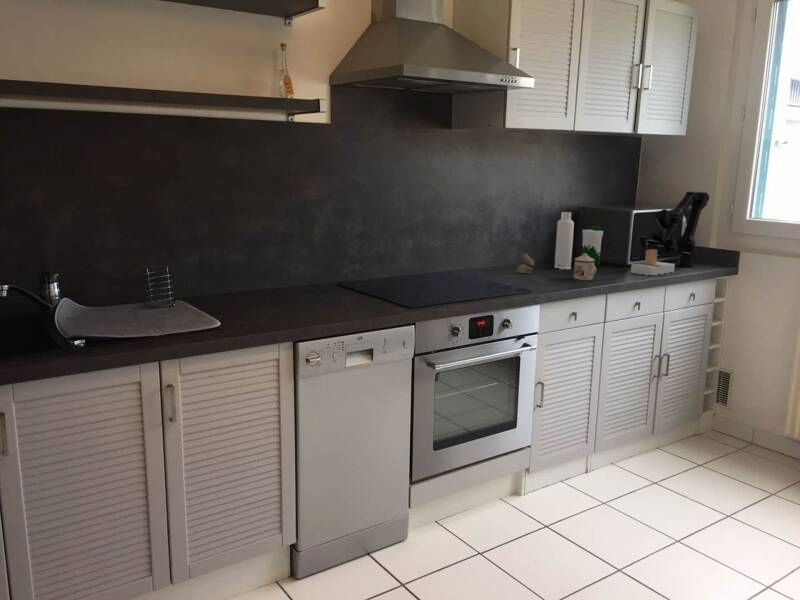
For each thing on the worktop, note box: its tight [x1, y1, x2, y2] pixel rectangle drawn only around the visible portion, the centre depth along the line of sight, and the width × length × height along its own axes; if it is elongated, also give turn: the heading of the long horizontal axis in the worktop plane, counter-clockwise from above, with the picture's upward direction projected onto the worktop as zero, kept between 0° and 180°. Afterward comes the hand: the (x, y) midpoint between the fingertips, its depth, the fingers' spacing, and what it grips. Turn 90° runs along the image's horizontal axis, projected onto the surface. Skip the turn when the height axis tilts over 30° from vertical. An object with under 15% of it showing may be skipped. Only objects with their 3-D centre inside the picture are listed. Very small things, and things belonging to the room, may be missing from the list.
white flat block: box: [630, 260, 676, 276], centre depth 320 cm, size 20×11×4 cm, turn 127°
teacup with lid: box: [573, 253, 597, 281], centre depth 298 cm, size 12×9×12 cm
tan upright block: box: [644, 248, 658, 264], centre depth 320 cm, size 6×2×11 cm, turn 127°
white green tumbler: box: [581, 225, 604, 266], centre depth 339 cm, size 9×9×20 cm
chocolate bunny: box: [515, 252, 535, 274], centre depth 311 cm, size 6×8×10 cm
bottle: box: [554, 211, 575, 270], centre depth 325 cm, size 8×8×28 cm
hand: (649, 256), depth 319 cm, fingers open, 9 cm apart
